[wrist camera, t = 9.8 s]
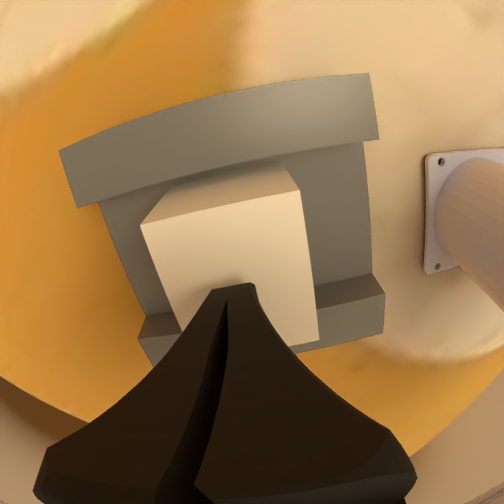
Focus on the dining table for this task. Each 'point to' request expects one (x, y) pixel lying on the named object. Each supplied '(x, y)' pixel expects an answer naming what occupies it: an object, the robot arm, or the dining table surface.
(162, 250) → the cream cube
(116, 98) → the dining table surface
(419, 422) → the dining table surface
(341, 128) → the socket
